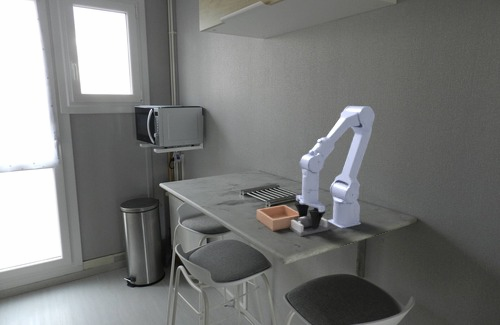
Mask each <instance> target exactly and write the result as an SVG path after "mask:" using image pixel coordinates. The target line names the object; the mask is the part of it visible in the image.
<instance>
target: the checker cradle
mask: <svg viewBox="0 0 500 325" xmlns="http://www.w3.org/2000/svg"><path fill="white" fill-rule="evenodd" d="M328 220H329V219H326V218H324V217H322V218H321V221H320V224H319V227H318V228H317V229H312V227H307V228H303V227H304V225H302V224H300V223H299V222H297V221H295V220H291V226H290V228H289V230H291V231H292V232H294V233H295V234H297V235H299V236H300V237H303V236H308V235H312V234H317V233H321V232H325V231H329V230H330V228H329V226H328V225H329V224H328V223H329V222H328Z"/></svg>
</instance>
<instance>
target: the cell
mask: <svg viewBox="0 0 500 325" xmlns="http://www.w3.org/2000/svg"><path fill="white" fill-rule="evenodd" d="M297 222H299V223H300V224H302V225H304V227H303V228H307V227H312V220H311V215H310V214H309V215H307V216H304V217H299V218H298V219H297ZM319 224H320V223H319Z"/></svg>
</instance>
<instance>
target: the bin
mask: <svg viewBox="0 0 500 325" xmlns="http://www.w3.org/2000/svg"><path fill="white" fill-rule="evenodd" d="M298 218H299V213H298V210H295V209H293V208H291V207H289V206H287V205H286V204H281V205H277V206H270V207H264V208H258V209H256V220H257V221H258V222H259V223H261V224H262V225H263V226H265V227H266V228H268V229H269V230H271V231H272V232H274V231H280V230H286V229H290V226H291V220H295V221H297V219H298Z"/></svg>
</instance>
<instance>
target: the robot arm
mask: <svg viewBox="0 0 500 325" xmlns="http://www.w3.org/2000/svg"><path fill="white" fill-rule="evenodd" d="M375 117H376V115H375V112H374V110H373V108H372V107H370V106H368V105H367V106H365V105H364V106H363V105H362V106H360V105H359V106H358V105H347V106H346V107H345V108H344V109H343V111H342V112H340V117H339V119H338V120H337V122H336V123H335V125H334V126H333V127H332V128H331V130H329V133H328V134H327V136H325V137H320V138H319V139H318V140H317V142H316V144H315V145H314V146H313V147H312V148H311V149H310V150H309V151H308V153H306V154H304V155H302V157H301V158H300V161H299V165H298V166H300V168H301V173H302V177H301V182H302V184H301V194H297V195H295V201H297V202H295V203H294V206H295V207H296V211H297V212H298V213H299V217H304V216H308V212H309V215H311V220H312V229H317V228H318V227H319V223H320V221H321V218H323V216H324V215H325V213H326V206H325V205H324V204H322V202H321V201H319V191H320V190H319V184H320V171H321V170H322V169H323V168H324V164H325V160H326V159H327V158H328V156H329V155H330V154H331V153H332V151H333V150H334V149H335V143H336V142H337V141H338V140H339V139H340V138H341V136H343V134H344V133H345V132H346V131H347V130H348V129H349V128H351V130H352V131H353V132H354V135H353V138H352V141H351V143H350V148H349V149H348V154H347V155H346V160H345V163H344V166H343V169H342V171H341V173H339V175H337V176H335V178H334V180H333V182H332V184H331V185H330V187H329V192H330V195H331V196H332V199H333V209H332V218H331V219H327V220H328V223H331V224H332V225H334V226H336V227H338V228H340V229H346V228H349V227H354V226H358V225H361V224H362V223H361V222H360V214H361V206H360V203H359V201H358V198H359V196H360V187H361V184H360V182H359V180H358V178H357V177H358V175H359V171H360V168H361V166H362V162H363V159H364V156H365V153H366V151H367V148H368V145H369V141H370V138H371V137H372V136H371V135H372V132H373V131H372V130H373V129H372V128H373V124H374V121H375ZM310 207H311V208H313V209H309V208H310Z"/></svg>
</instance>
